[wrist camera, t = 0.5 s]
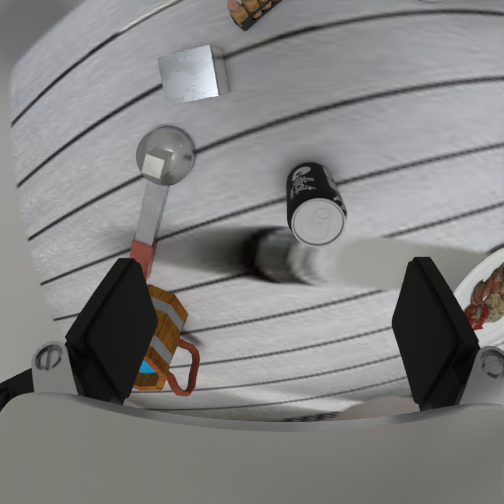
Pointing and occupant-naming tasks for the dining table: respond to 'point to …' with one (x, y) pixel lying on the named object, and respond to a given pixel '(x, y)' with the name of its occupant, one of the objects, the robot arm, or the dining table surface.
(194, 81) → the brushed metal block
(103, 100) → the dining table surface
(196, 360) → the mug
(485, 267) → the plated food
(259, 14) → the ammunition clip
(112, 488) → the robot arm
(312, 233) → the beverage can
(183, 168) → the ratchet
